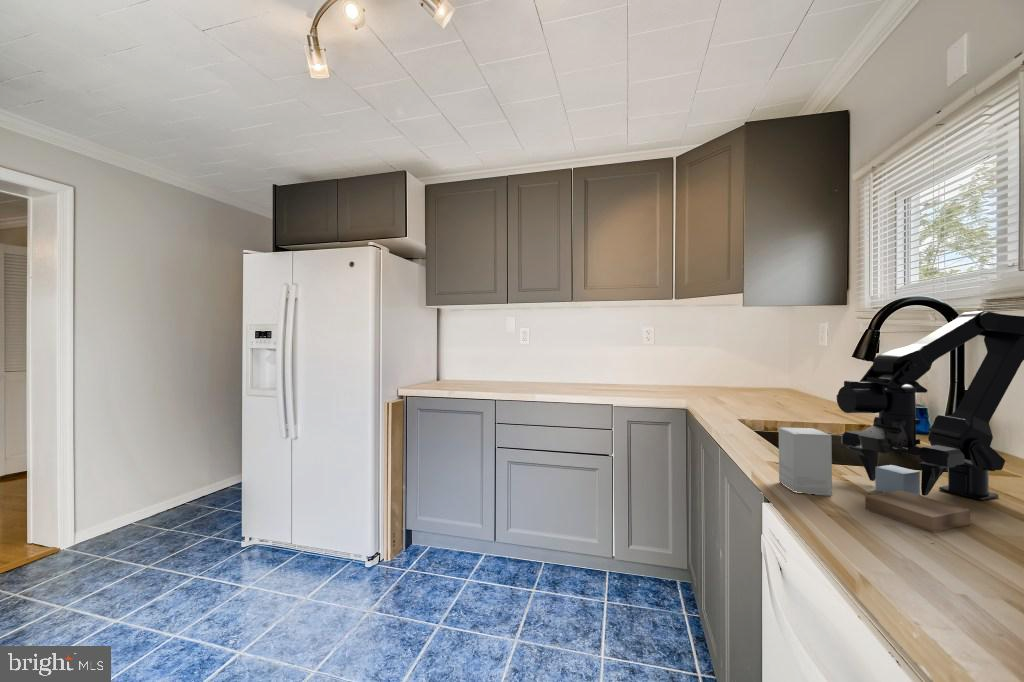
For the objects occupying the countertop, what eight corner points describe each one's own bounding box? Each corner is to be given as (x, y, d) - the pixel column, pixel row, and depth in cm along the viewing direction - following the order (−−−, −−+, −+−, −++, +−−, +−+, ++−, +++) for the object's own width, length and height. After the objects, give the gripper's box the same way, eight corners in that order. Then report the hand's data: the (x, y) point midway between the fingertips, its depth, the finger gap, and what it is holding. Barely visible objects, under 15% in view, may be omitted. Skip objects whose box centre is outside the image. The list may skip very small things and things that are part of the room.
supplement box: (833, 496, 84) (833, 435, 84) (793, 493, 86) (792, 433, 86) (814, 484, 92) (814, 427, 92) (777, 482, 93) (777, 426, 93)
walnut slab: (900, 502, 81) (900, 490, 81) (970, 524, 71) (970, 509, 71) (865, 509, 78) (865, 495, 78) (932, 532, 68) (932, 517, 68)
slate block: (891, 487, 90) (891, 464, 90) (919, 495, 85) (919, 471, 85) (875, 490, 88) (875, 466, 88) (903, 498, 83) (903, 474, 83)
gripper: (823, 408, 93) (824, 477, 93) (927, 424, 75) (928, 509, 75) (858, 406, 96) (858, 472, 96) (965, 420, 78) (966, 502, 78)
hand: (897, 487), depth 86 cm, fingers open, 9 cm apart
